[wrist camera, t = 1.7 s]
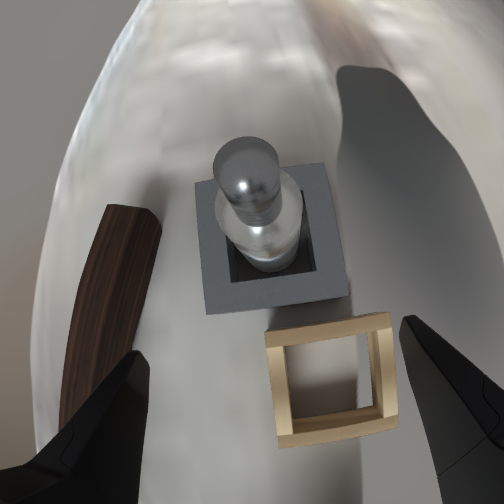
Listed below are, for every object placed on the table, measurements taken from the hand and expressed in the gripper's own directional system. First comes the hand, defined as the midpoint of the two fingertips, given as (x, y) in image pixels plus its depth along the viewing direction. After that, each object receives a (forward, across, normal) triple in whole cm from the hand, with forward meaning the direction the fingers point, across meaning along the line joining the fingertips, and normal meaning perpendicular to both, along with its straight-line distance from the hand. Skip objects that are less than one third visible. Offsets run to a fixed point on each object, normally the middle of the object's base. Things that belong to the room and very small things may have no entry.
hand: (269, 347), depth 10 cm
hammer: (+6, +14, +12) cm, 20 cm away
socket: (+13, 0, +4) cm, 14 cm away
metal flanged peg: (+13, 0, +4) cm, 14 cm away
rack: (+6, -3, +12) cm, 13 cm away
